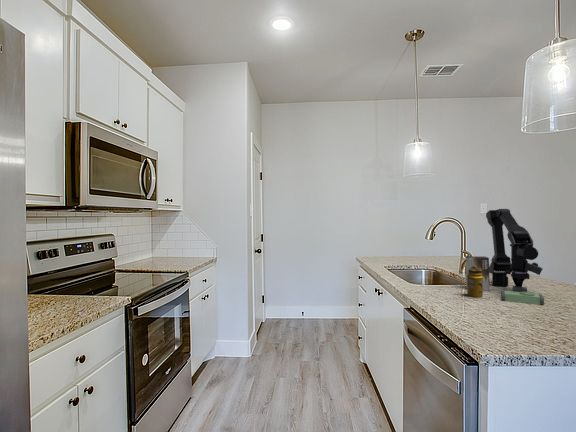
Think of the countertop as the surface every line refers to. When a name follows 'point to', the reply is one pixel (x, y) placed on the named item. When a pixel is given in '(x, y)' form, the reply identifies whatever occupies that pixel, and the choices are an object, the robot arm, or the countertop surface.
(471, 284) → the condiment
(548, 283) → the countertop surface
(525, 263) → the robot arm
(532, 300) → the green toy cart
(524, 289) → the stepped grey block
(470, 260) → the coffee box
